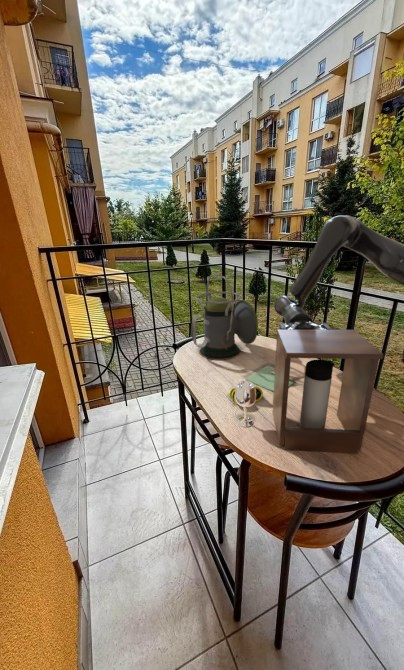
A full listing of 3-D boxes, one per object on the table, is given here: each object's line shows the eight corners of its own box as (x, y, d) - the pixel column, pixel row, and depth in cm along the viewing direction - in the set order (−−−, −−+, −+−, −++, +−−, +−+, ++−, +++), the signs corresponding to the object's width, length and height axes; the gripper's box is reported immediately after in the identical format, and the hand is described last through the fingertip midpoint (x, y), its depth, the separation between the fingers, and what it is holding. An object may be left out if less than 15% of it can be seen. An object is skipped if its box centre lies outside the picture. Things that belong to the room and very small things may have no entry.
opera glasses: (256, 395, 94) (255, 381, 93) (263, 401, 89) (262, 386, 88) (229, 401, 91) (227, 386, 90) (235, 407, 86) (233, 391, 85)
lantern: (265, 354, 122) (268, 273, 110) (204, 368, 112) (201, 280, 100) (236, 336, 143) (237, 267, 131) (183, 347, 133) (178, 272, 121)
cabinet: (272, 412, 83) (277, 329, 74) (341, 414, 81) (354, 329, 72) (279, 449, 69) (286, 352, 60) (363, 454, 67) (383, 354, 58)
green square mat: (267, 366, 111) (267, 365, 111) (300, 378, 101) (300, 377, 101) (245, 379, 102) (245, 378, 102) (278, 394, 92) (278, 393, 92)
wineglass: (241, 431, 76) (242, 393, 72) (231, 419, 81) (231, 382, 77) (259, 424, 78) (260, 387, 74) (248, 413, 83) (248, 378, 79)
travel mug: (329, 436, 73) (340, 367, 66) (305, 438, 72) (312, 369, 66) (318, 421, 79) (326, 356, 72) (295, 423, 78) (301, 358, 71)
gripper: (276, 309, 92) (285, 325, 77) (321, 309, 91) (339, 326, 76) (275, 330, 95) (283, 350, 80) (318, 331, 93) (335, 351, 78)
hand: (310, 338), depth 78 cm, fingers open, 8 cm apart
